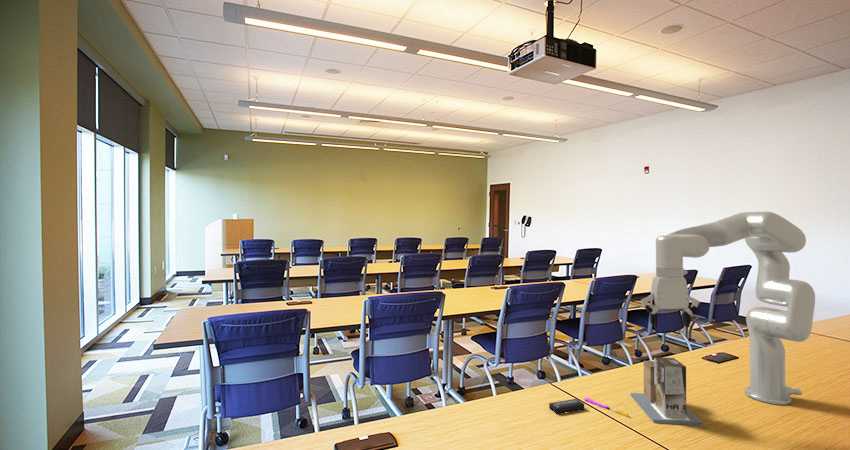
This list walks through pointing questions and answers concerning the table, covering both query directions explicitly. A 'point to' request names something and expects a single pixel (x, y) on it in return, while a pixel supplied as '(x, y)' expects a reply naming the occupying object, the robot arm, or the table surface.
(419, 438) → the table surface
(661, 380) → the coffee box
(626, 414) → the magenta and yellow rod
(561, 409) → the multiport hub
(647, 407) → the board
